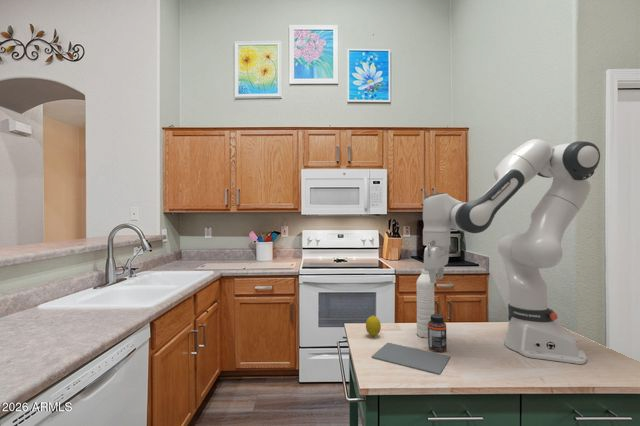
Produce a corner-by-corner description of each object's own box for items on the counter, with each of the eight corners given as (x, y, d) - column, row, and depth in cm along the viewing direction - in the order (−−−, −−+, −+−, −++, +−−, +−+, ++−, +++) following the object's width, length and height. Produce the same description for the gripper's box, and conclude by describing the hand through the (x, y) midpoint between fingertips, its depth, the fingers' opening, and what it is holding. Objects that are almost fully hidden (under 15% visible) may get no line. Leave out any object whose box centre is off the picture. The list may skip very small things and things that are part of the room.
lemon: (363, 335, 123) (363, 314, 123) (375, 333, 125) (375, 312, 125) (370, 340, 118) (370, 318, 118) (383, 338, 120) (383, 316, 120)
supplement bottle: (431, 344, 114) (431, 312, 114) (449, 348, 110) (448, 315, 110) (425, 349, 109) (425, 316, 109) (443, 354, 105) (442, 319, 105)
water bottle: (421, 338, 119) (420, 270, 120) (414, 332, 126) (413, 268, 126) (443, 337, 120) (442, 270, 121) (435, 331, 126) (434, 267, 127)
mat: (450, 357, 103) (450, 355, 103) (440, 375, 91) (440, 373, 91) (387, 343, 114) (387, 342, 114) (371, 357, 103) (371, 356, 103)
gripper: (438, 242, 100) (439, 287, 99) (451, 239, 117) (452, 277, 117) (418, 241, 103) (418, 285, 103) (434, 238, 120) (434, 275, 120)
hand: (436, 281), depth 110 cm, fingers open, 8 cm apart
